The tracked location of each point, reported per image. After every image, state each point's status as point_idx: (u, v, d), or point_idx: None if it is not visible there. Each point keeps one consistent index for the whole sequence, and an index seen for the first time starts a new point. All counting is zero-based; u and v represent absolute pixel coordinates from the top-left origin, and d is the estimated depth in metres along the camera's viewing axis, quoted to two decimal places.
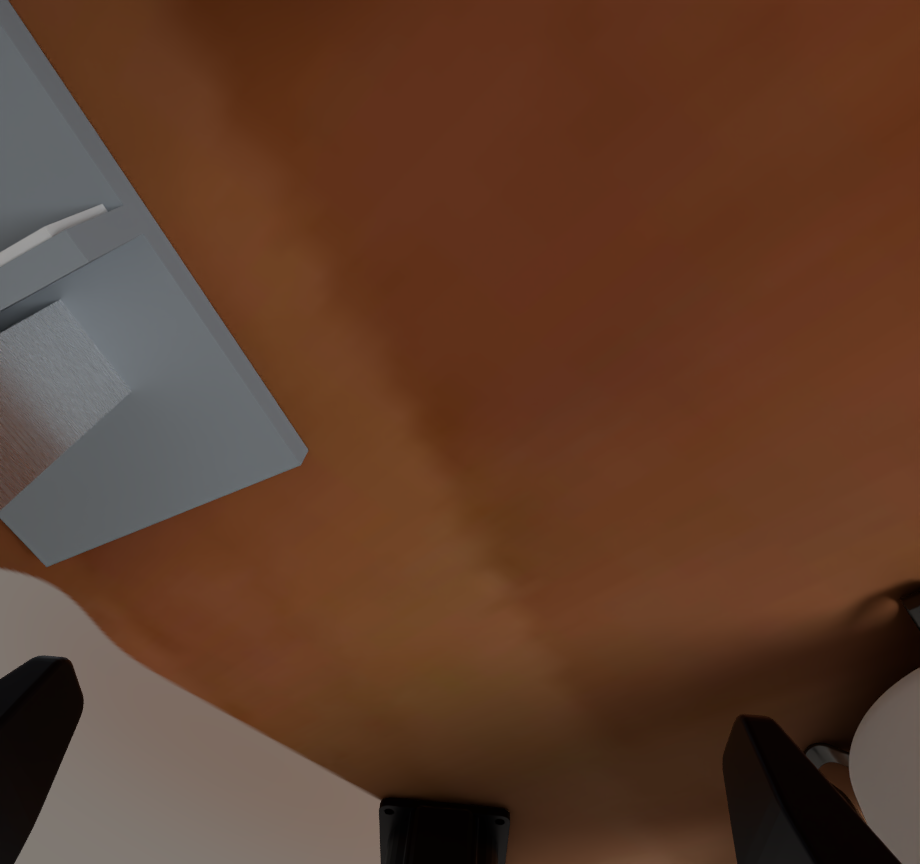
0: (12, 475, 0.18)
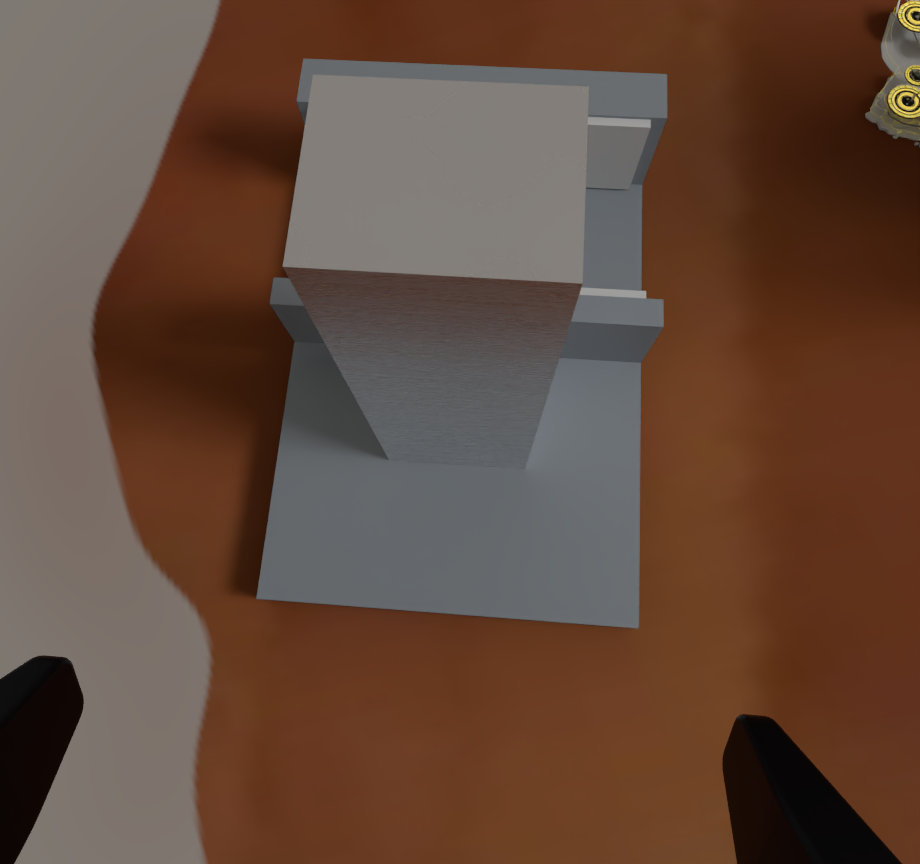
0: None
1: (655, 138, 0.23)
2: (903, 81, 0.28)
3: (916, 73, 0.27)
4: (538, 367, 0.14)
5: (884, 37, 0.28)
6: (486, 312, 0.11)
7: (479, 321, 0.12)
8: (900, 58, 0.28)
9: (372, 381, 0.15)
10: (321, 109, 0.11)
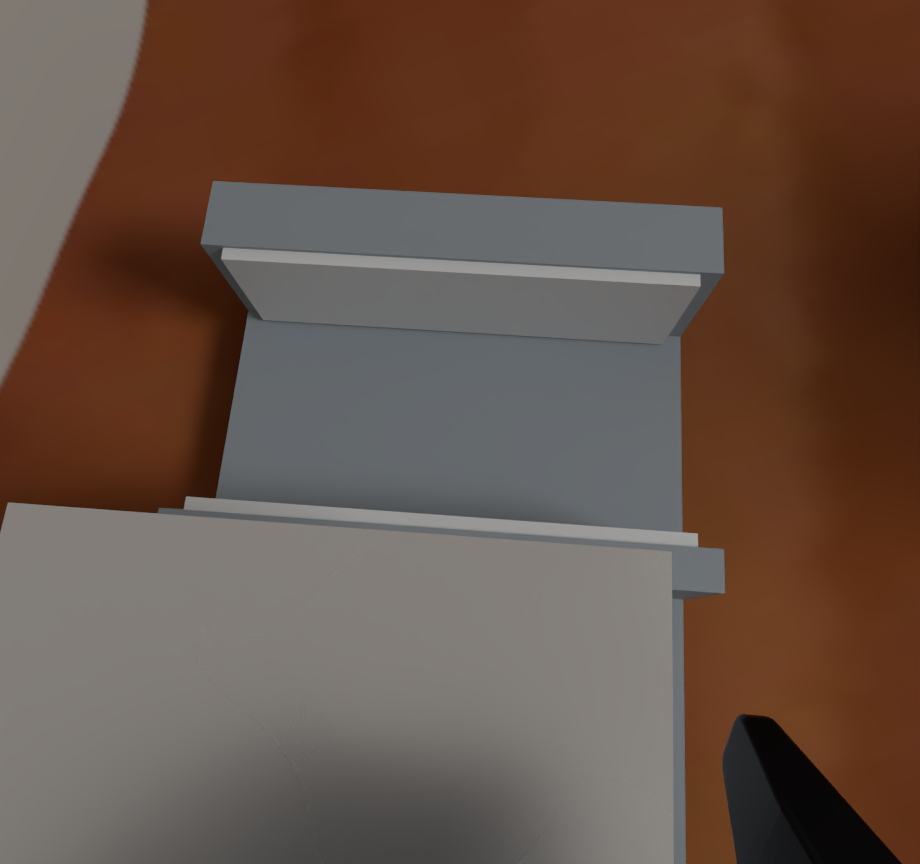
0: None
1: (704, 293, 0.16)
2: None
3: None
4: None
5: None
6: None
7: None
8: None
9: None
10: (16, 604, 0.05)
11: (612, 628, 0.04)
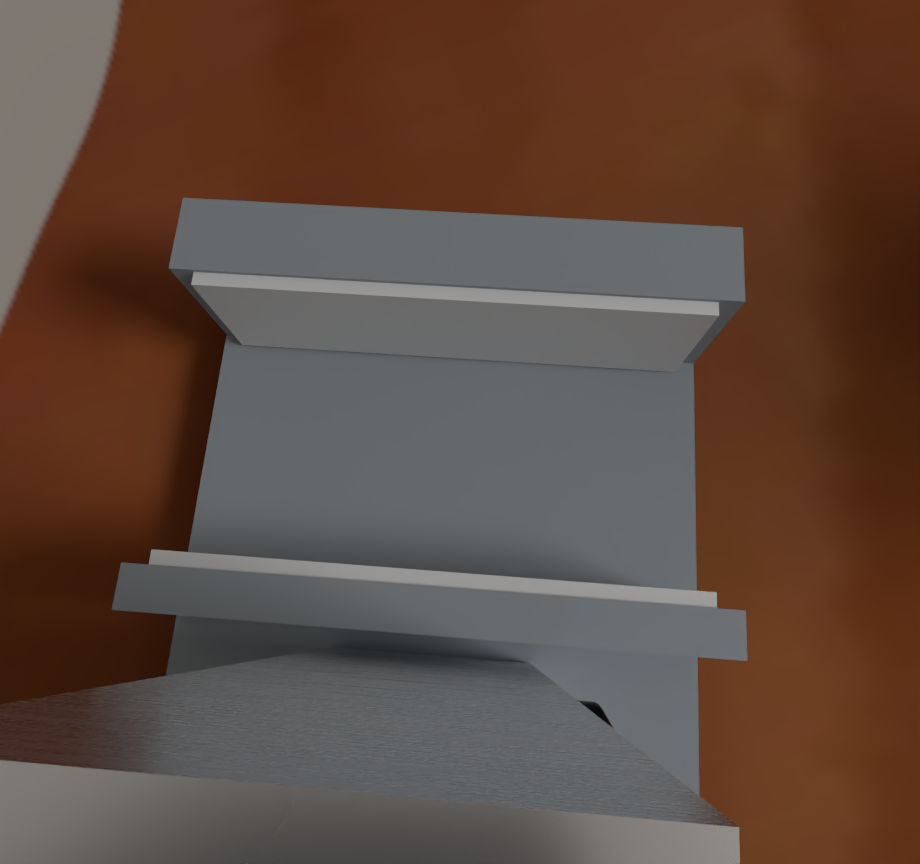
0: None
1: (722, 321, 0.15)
2: None
3: None
4: None
5: None
6: None
7: None
8: None
9: None
10: None
11: None
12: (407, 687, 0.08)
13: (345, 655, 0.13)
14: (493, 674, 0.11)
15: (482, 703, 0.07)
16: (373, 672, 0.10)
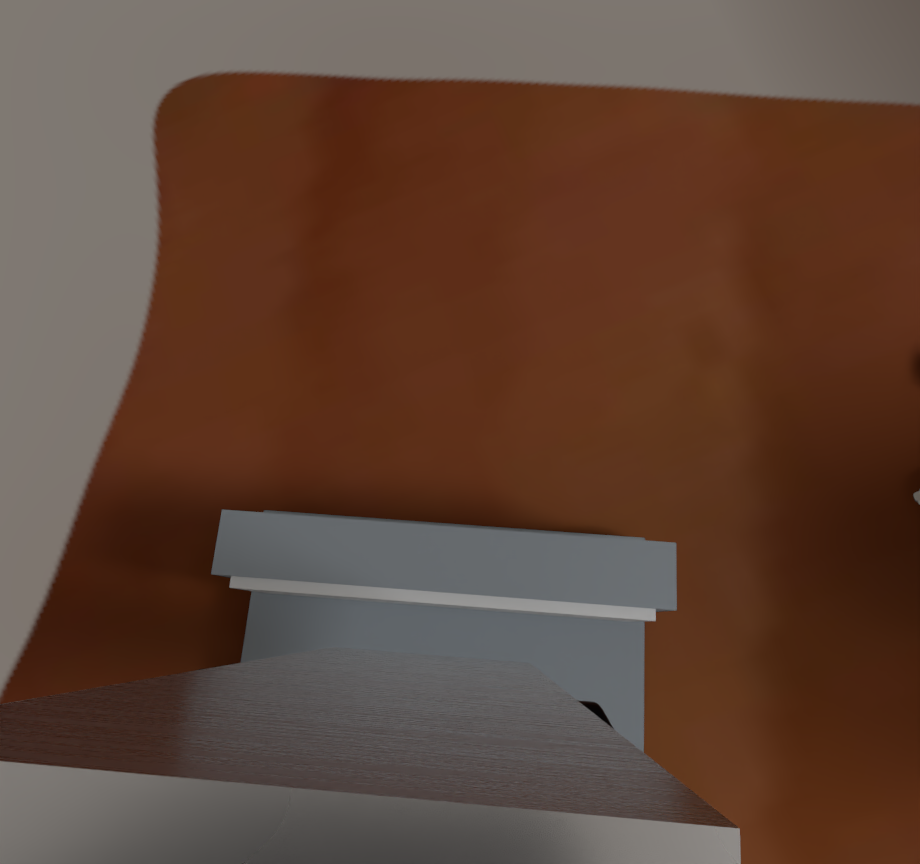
0: None
1: (661, 610, 0.18)
2: None
3: None
4: None
5: None
6: None
7: None
8: None
9: None
10: None
11: None
12: (407, 687, 0.08)
13: (345, 655, 0.13)
14: (493, 674, 0.11)
15: (482, 703, 0.07)
16: (373, 672, 0.10)
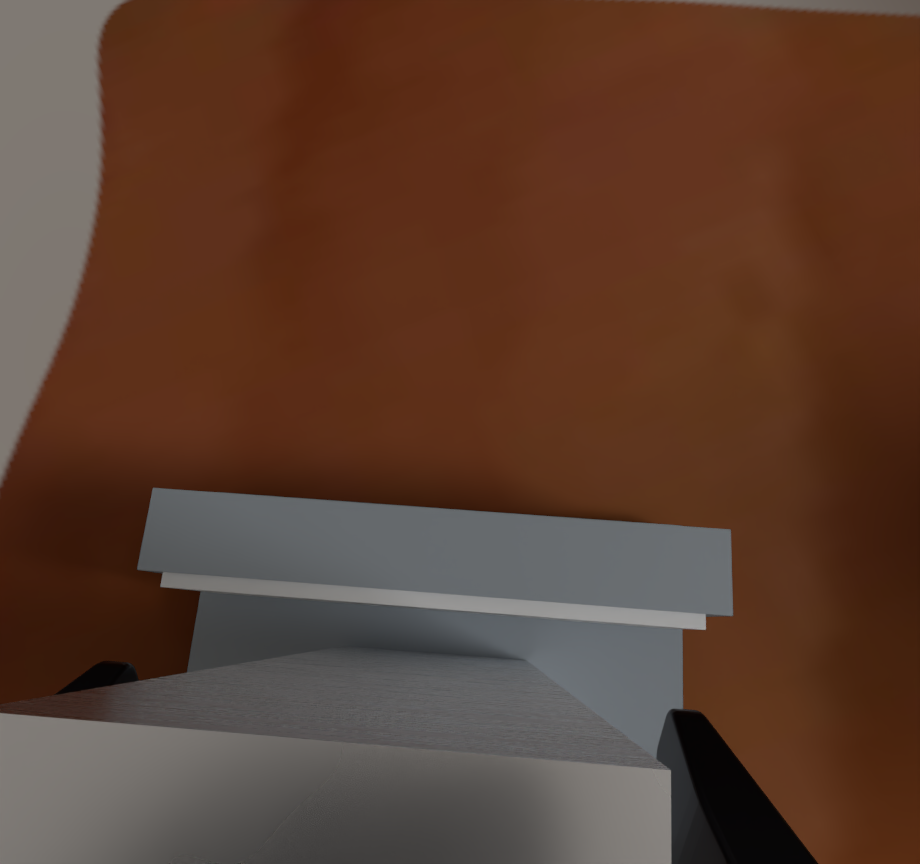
0: None
1: (710, 616, 0.15)
2: None
3: None
4: None
5: None
6: None
7: None
8: None
9: None
10: None
11: (607, 859, 0.04)
12: (417, 679, 0.09)
13: (356, 653, 0.14)
14: (492, 669, 0.12)
15: (482, 691, 0.08)
16: (385, 667, 0.11)
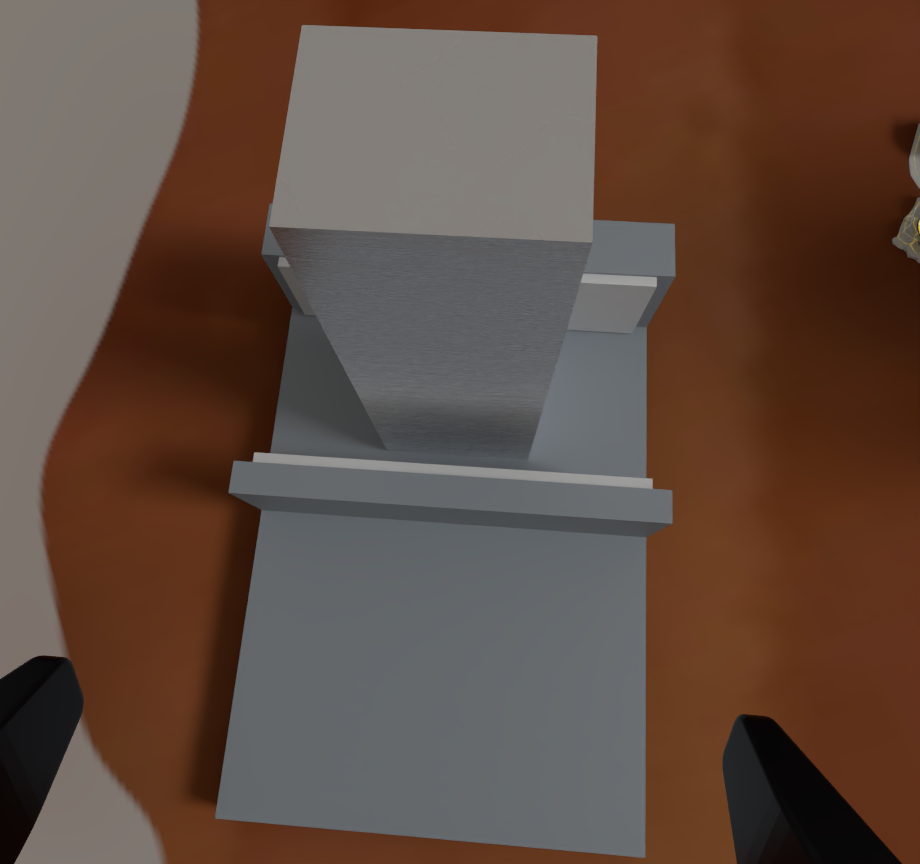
0: None
1: (661, 292, 0.21)
2: None
3: None
4: (543, 343, 0.13)
5: (912, 151, 0.26)
6: (488, 279, 0.11)
7: (481, 290, 0.11)
8: None
9: (368, 361, 0.15)
10: (311, 61, 0.10)
11: (570, 61, 0.10)
12: None
13: None
14: None
15: None
16: None
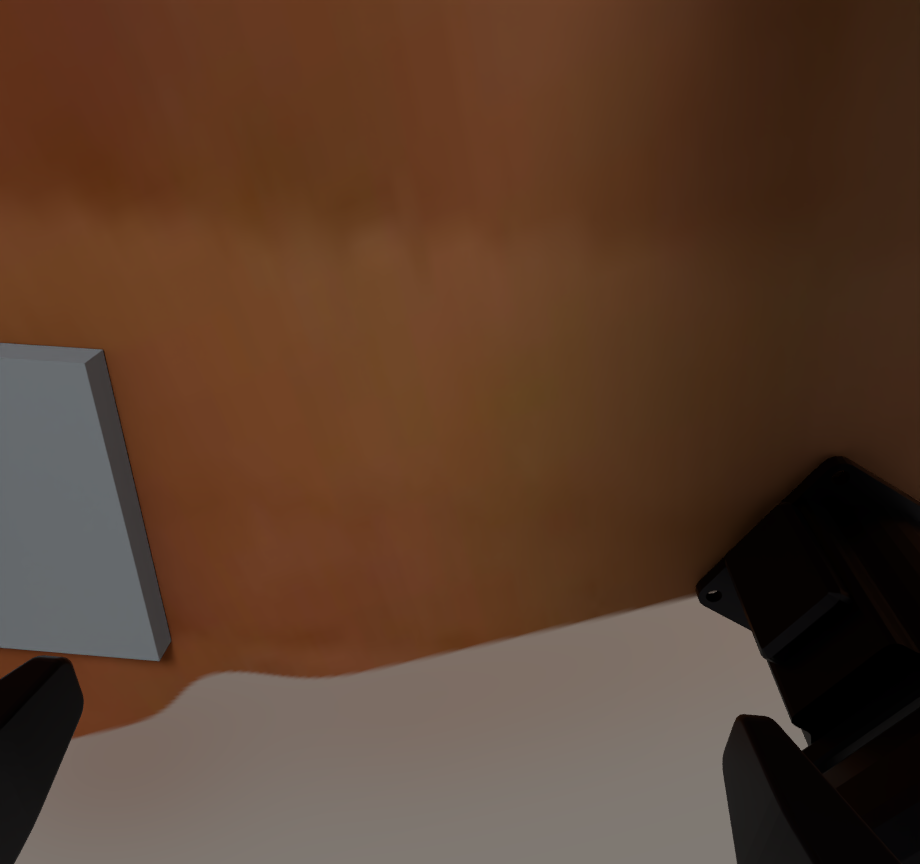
0: None
1: None
2: None
3: None
4: None
5: None
6: None
7: None
8: None
9: None
10: None
11: None
12: None
13: None
14: None
15: None
16: None
